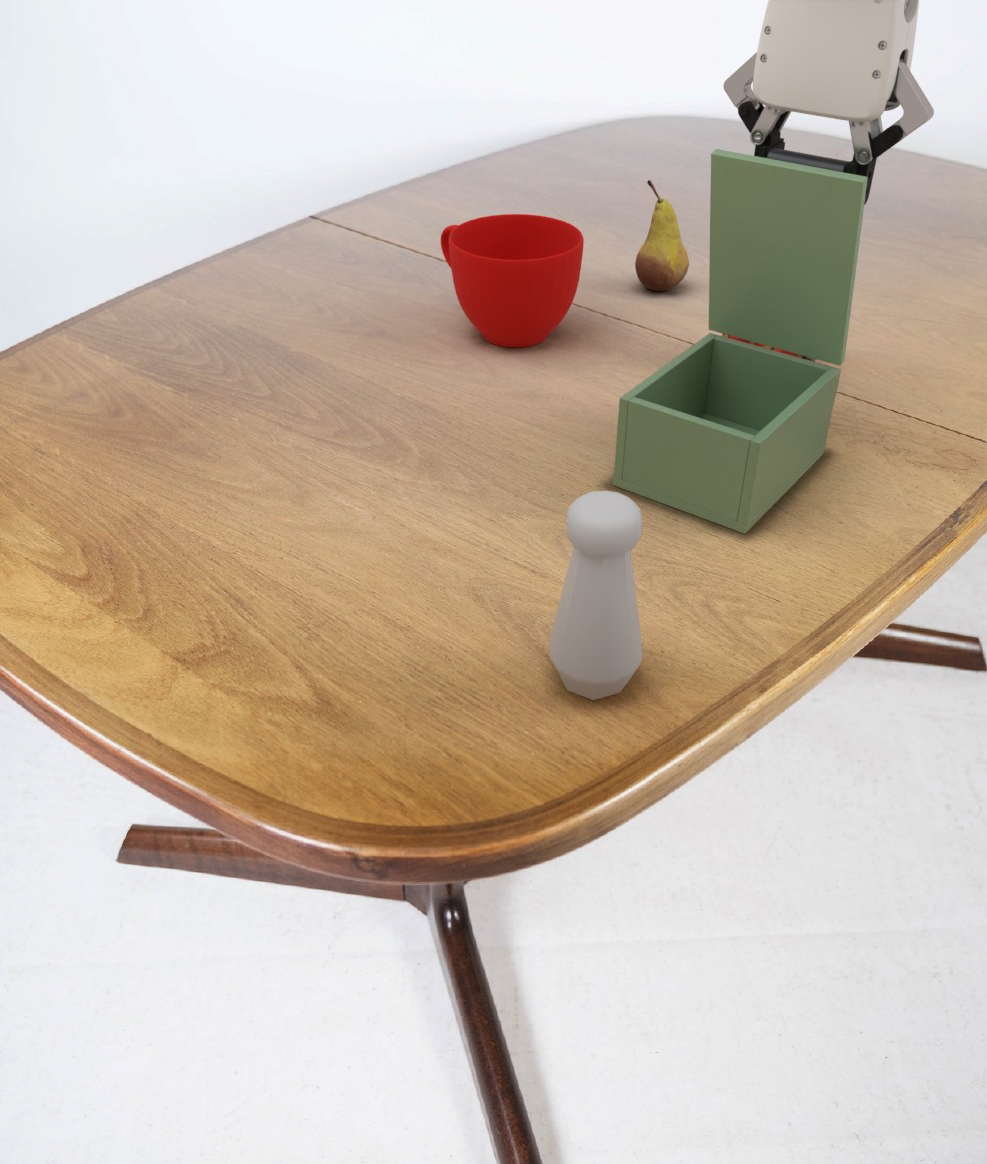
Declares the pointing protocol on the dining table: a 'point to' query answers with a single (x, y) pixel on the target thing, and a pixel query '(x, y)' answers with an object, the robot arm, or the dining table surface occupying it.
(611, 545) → the salt shaker
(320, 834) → the dining table surface
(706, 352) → the holder
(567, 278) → the ceramic cup
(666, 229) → the fruit
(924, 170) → the dining table surface
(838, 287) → the lid
